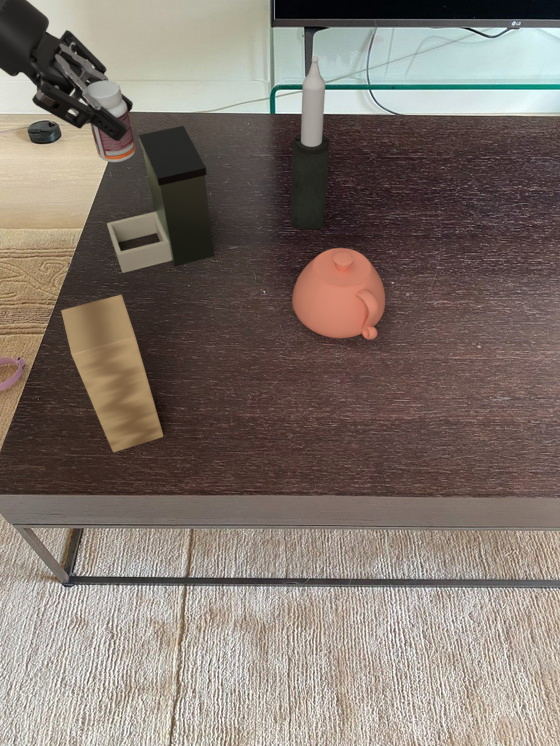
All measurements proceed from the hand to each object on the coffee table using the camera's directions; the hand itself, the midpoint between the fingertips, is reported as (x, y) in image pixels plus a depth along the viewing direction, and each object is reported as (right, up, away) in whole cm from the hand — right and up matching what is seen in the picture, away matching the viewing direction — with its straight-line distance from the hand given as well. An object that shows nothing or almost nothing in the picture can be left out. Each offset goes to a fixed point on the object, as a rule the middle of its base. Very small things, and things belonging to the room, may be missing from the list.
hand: (125, 122), depth 76 cm
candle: (+23, -7, +21) cm, 32 cm away
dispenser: (+5, -11, +18) cm, 21 cm away
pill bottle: (-2, -3, +3) cm, 5 cm away
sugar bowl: (+27, -23, +8) cm, 37 cm away
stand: (+1, -37, -2) cm, 37 cm away
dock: (-2, -12, +16) cm, 21 cm away
